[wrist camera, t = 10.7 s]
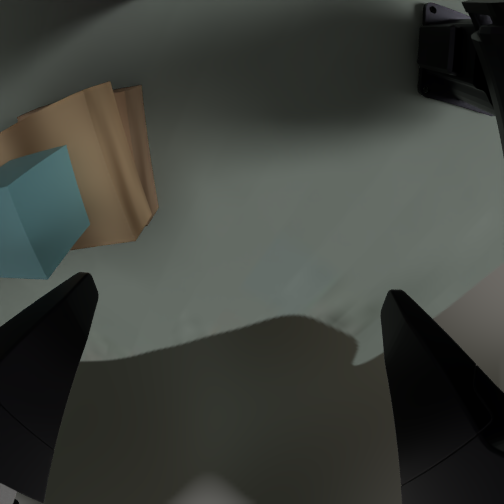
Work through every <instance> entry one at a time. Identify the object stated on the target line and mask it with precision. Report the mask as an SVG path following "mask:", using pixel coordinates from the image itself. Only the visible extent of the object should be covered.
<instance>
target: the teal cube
mask: <svg viewBox="0 0 504 504" xmlns="http://www.w3.org/2000/svg"><path fill="white" fill-rule="evenodd" d="M89 225H90V222H89V219H88V216H87V213H86V210H85V207H84V204H83V201H82V198H81V195H80V191H79V188H78V185H77V182H76V178H75V175H74V171H73V168H72V164H71V161H70V157H69V153H68V149H67V146H66V145H64V146H60V147H56V148H52V149H48V150H44V151H41V152H37V153H33V154H30V155H26V156H23V157H20V158H17V159H13V160H10V161H8V162H7V163H5V164H4V165H2V166H1V167H0V277H3V278H24V279H48V278H49V277H50V276H51V274H52V273H53V272H54V270H55V269H56V267H57V266H58V265H59V263H60V262H61V261H62V259H63V258H64V257H65V255H66V254H67V253H68V252H69V250H70V249H71V248H72V246H73V245H74V244H75V243H76V241H77V240H78V239H79V238H80V236H81V235H82V234H83V233H84V231H85V230H86V229H87V228H88V227H89Z"/></svg>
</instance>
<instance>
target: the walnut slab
mask: <svg viewBox="0 0 504 504" xmlns="http://www.w3.org/2000/svg"><path fill="white" fill-rule="evenodd" d="M113 93H114V97H115V100H116V104H117V108H118V111H119V115H120V118H121V121H122V125H123V128H124V131H125V135H126V138H127V141H128V145H129V148H130V151H131V154H132V157H133V160H134V163H135V166H136V169H137V172H138V175H139V178H140V181H141V184H142V187H143V190H144V193H145V196H146V199H147V202H148V205H149V207H150V210H151V213H152V216H151V217H150V219H149V220H148V222H147V224H146V225H145V226H148V224H149V222H150V221H151V219H152V218H153V216H154V214H155V213H156V211H157V210H158V208H159V206H158V200H157V195H156V189H155V183H154V177H153V170H152V164H151V157H150V150H149V143H148V136H147V128H146V120H145V112H144V103H143V94H142V85H138V86H132V87H126V88H120V89H115V90H113ZM50 105H51V104H50ZM47 106H49V105H46V106H43V107H40V108H37V109H35V110H32V111H30V112H28V113H26V114H23V115H21V116H19V117H17V119H18V122H19V121H21V120H23V119H25V118H27V117H28V116H30V115H32V114H34V113H36V112H38V111H40V110H42V109H43V108H45V107H47Z"/></svg>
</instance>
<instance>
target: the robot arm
mask: <svg viewBox="0 0 504 504" xmlns="http://www.w3.org/2000/svg"><path fill="white" fill-rule="evenodd" d="M462 4H463V6H464V9H465V11H466V12H468V14H469V16H470V17H469V16H467V15H465V14H462V13H460V12H457V11H454V10H452V9H449V8H446V7H444V6H441V5H438V4H435V3H426V4H425V5H424V7H423V26H422V27H420V31H419V47H418V60H417V63H418V65H419V66H420V70H419V80H418V92H419V93H420V95H422V96H424V97H427V98H431V99H435V100H439V101H443V102H447V103H450V104H454V105H457V106H461V107H464V108H468V109H471V110H474V111H477V112H480V113H483V114H486V115H489V116H496V120H497V124H498V129H499V134H500V139H501V144H502V150H503V156H504V0H468V1H464V2H462ZM430 7H432V8H433V10H434V13H431V11H430V9H429V8H430ZM425 86H427V87H428V91H427V92H426V93H425V92H424V87H425ZM97 302H98V291H97V288H96V285H95V283H94V280H93V277H92V275H91V274H90V273H85V272H79V273H77V274H75V275H74V276H72V277H71V278H69V279H68V280H66V281H65V282H63V283H62V284H60V285H59V286H57V287H56V288H54V289H53V290H51V291H50V292H48V293H47V294H45V295H44V296H43V297H41V298H40V299H38V300H37V301H35V302H34V303H33V304H31V305H30V306H28V307H27V308H26V309H24V310H23V311H21V312H20V313H19V314H17V315H16V316H14V317H13V318H12V319H10V320H9V321H8V322H6V323H5V324H4V325H2V326H1V327H0V504H19V502H18V501H17V500H16V499H15V495H16V492H19V493H21V494H23V495H25V496H28V497H30V498H32V499H35V500H37V501H39V502H41V503H43V502H44V499H45V493H46V487H47V482H48V477H49V472H50V467H51V462H52V458H53V454H54V448H55V444H56V440H57V436H58V432H59V428H60V425H61V421H62V417H63V414H64V409H65V406H66V403H67V400H68V396H69V393H70V389H71V387H72V383H73V380H74V377H75V374H76V371H77V368H78V365H79V362H80V359H81V356H82V353H83V350H84V348H85V345H86V342H87V339H88V335H89V331H90V327H91V324H92V320H93V316H94V312H95V309H96V305H97ZM381 325H382V336H383V348H384V359H385V366H386V372H387V377H388V383H389V389H390V395H391V402H392V408H393V415H394V422H395V430H396V438H397V446H398V456H399V466H400V478H401V485H402V486H401V494H402V504H504V393H503V392H502V391H501V390H500V389H499V388H498V387H497V386H496V385H495V384H494V383H493V381H492V380H491V379H490V378H489V377H488V376H487V375H486V374H485V373H484V372H483V371H482V370H481V369H480V368H479V366H476V363H475V362H474V361H473V360H472V359H471V358H470V357H469V356H468V355H467V354H466V353H465V352H464V351H463V350H462V348H460V346H459V345H458V344H457V343H456V342H455V341H454V340H453V339H452V338H451V337H450V336H449V335H448V334H447V333H446V332H445V331H444V330H443V329H442V328H441V327H440V326H439V325H438V324H437V323H436V322H435V321H434V320H433V319H432V318H431V317H430V316H429V315H428V314H427V313H426V312H425V311H424V310H423V309H422V308H421V307H420V306H419V305H418V304H417V303H416V302H415V301H414V300H413V299H412V298H411V297H409V296H408V295H407V294H406V293H405V292H404V291H403V290H389V291H388V293H387V296H386V298H385V301H384V304H383V306H382V309H381Z"/></svg>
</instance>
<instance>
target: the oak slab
mask: <svg viewBox="0 0 504 504" xmlns="http://www.w3.org/2000/svg"><path fill="white" fill-rule="evenodd" d="M64 145H66V146H67V149H68V153H69V157H70V161H71V164H72V168H73V171H74V175H75V178H76V182H77V185H78V188H79V191H80V195H81V198H82V201H83V204H84V207H85V210H86V213H87V216H88V219H89V222H90V225H89V227H88V228H87V229H86V230H85V231H84V233H83V234H82V235H81V236H80V238H79V239H78V240H77V241H76V243H75V244H74V245H73V246H72V248H71V249H70V250H75V249H82V248H89V247H96V246H103V245H110V244H117V243H124V242H132V241H136V240H137V238H138V236H139V235H140V233H141V232H142V230H143V228H144V227H145V225H146V224H147V222H148V220H149V219H150V217H151V216H152V213H151V210H150V207H149V205H148V202H147V199H146V196H145V193H144V190H143V187H142V184H141V181H140V178H139V175H138V172H137V169H136V166H135V163H134V160H133V157H132V154H131V151H130V148H129V145H128V141H127V138H126V135H125V131H124V128H123V125H122V121H121V118H120V115H119V111H118V108H117V104H116V100H115V97H114V93H113V90H112V86H111V82H110V81H109V82H106V83H103V84H100V85H96V86H93V87H90V88H87V89H84V90H82V91H79V92H77V93H75V94H73V95H70V96H68V97H66V98H64V99H62V100H60V101H58V102H56V103H53V104H51V105H49V106H47V107H45V108H43V109H42V110H40V111H38V112H36V113H34V114H32V115H30V116H28V117H27V118H25V119H23V120H21V121H19V122H18V123H16V124H14V125H12V126H11V127H9V128H7V129H6V130H4V131H2V132H1V133H0V167H1V166H2V165H4V164H5V163H7V162H8V161H10V160H13V159H17V158H20V157H23V156H26V155H30V154H33V153H37V152H41V151H44V150H48V149H52V148H56V147H60V146H64Z"/></svg>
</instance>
